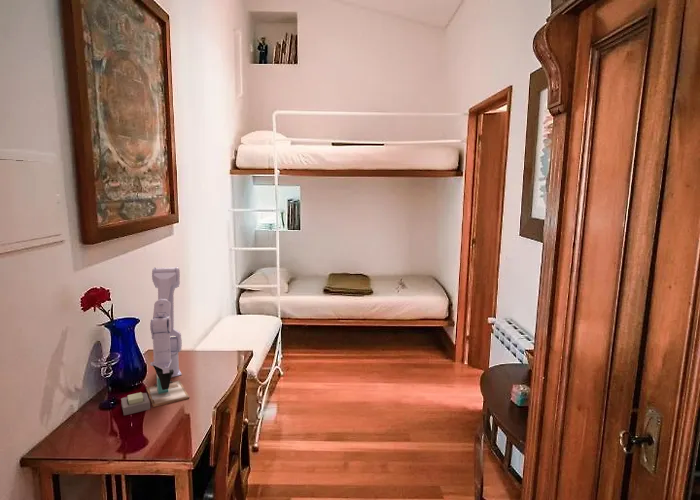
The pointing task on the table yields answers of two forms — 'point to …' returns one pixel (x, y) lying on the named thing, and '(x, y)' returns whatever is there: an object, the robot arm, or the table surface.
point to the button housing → (135, 405)
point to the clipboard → (167, 394)
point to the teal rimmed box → (160, 387)
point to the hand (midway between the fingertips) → (163, 385)
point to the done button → (135, 398)
